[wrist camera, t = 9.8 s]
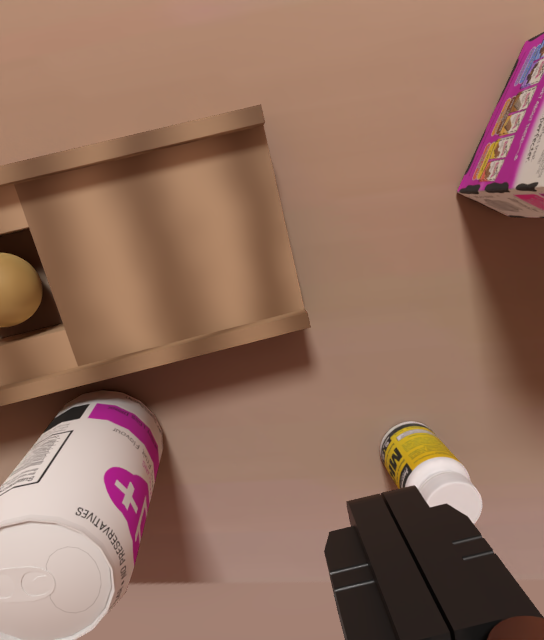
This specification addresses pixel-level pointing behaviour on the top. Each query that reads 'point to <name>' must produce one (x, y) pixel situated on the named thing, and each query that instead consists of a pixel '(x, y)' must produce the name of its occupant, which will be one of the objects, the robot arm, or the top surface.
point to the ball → (18, 290)
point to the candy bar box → (513, 143)
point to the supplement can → (76, 517)
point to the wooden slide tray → (150, 252)
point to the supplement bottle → (429, 468)
